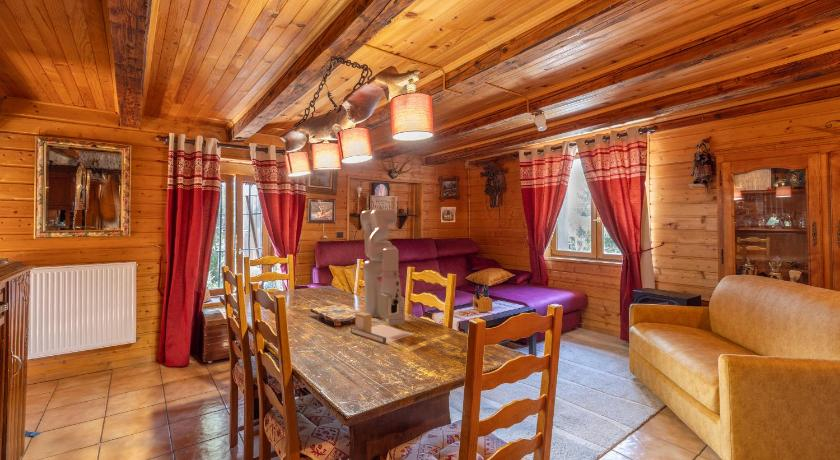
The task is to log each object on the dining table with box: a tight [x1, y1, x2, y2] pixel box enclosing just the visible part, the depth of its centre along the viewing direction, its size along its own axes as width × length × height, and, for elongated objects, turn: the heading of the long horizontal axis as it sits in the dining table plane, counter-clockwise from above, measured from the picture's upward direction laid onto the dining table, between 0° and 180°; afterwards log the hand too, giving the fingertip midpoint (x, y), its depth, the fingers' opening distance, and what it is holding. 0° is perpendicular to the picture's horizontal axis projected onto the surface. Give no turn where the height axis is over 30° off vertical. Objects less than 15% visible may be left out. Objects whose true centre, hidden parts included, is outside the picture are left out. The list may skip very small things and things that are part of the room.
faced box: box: [354, 311, 372, 333], centre depth 188 cm, size 4×7×9 cm, turn 47°
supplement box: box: [384, 295, 406, 326], centre depth 205 cm, size 9×9×15 cm
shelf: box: [350, 324, 415, 345], centre depth 187 cm, size 19×24×4 cm
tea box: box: [379, 294, 400, 320], centre depth 188 cm, size 5×9×11 cm, turn 137°
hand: (390, 311), depth 189 cm, fingers closed on tea box, 4 cm apart
